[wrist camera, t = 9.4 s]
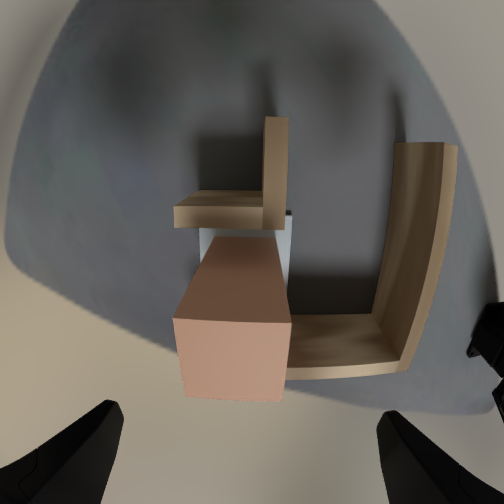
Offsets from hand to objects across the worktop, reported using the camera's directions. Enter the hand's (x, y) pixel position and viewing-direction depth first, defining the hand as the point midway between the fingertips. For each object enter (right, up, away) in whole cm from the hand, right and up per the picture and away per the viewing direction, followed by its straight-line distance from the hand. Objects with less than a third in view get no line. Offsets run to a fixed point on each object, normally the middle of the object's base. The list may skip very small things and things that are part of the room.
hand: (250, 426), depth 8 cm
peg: (0, +5, +12) cm, 12 cm away
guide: (+4, +6, +11) cm, 13 cm away
